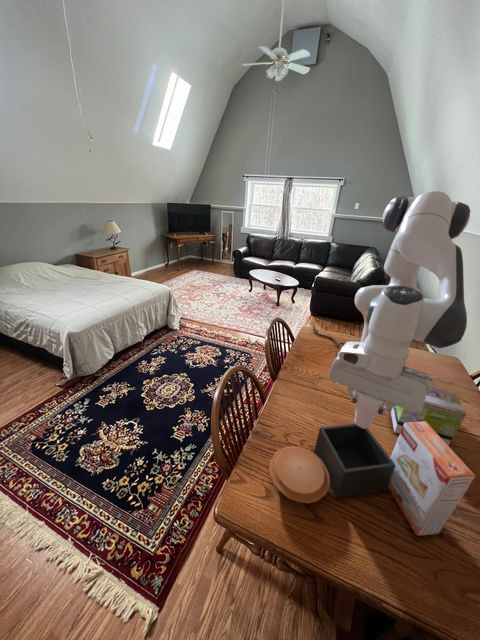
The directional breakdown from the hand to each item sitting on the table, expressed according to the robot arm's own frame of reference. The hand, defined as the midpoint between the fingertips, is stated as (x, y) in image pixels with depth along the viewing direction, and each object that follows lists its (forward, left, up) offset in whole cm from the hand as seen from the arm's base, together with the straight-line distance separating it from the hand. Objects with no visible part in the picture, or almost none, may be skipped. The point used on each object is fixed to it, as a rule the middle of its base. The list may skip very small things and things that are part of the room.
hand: (366, 407), depth 65 cm
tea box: (-10, +31, -23) cm, 39 cm away
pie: (+1, -15, -23) cm, 27 cm away
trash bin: (0, 0, -22) cm, 22 cm away
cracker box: (+11, +10, -23) cm, 27 cm away
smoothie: (0, 0, -5) cm, 5 cm away
